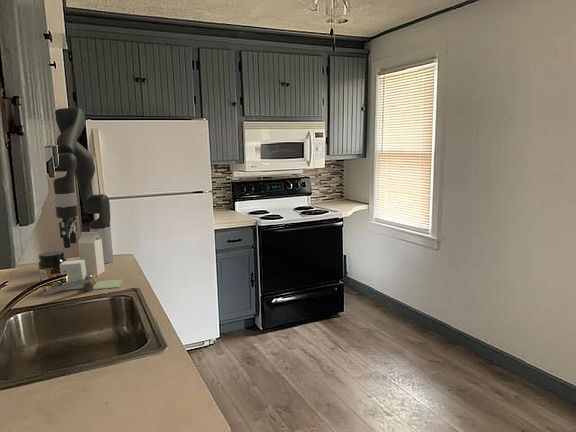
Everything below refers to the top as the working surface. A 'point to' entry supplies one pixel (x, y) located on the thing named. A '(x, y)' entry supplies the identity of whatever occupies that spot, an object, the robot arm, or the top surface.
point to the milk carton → (91, 252)
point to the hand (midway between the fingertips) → (70, 245)
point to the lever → (65, 286)
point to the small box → (74, 271)
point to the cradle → (87, 285)
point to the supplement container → (50, 264)
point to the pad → (107, 284)
